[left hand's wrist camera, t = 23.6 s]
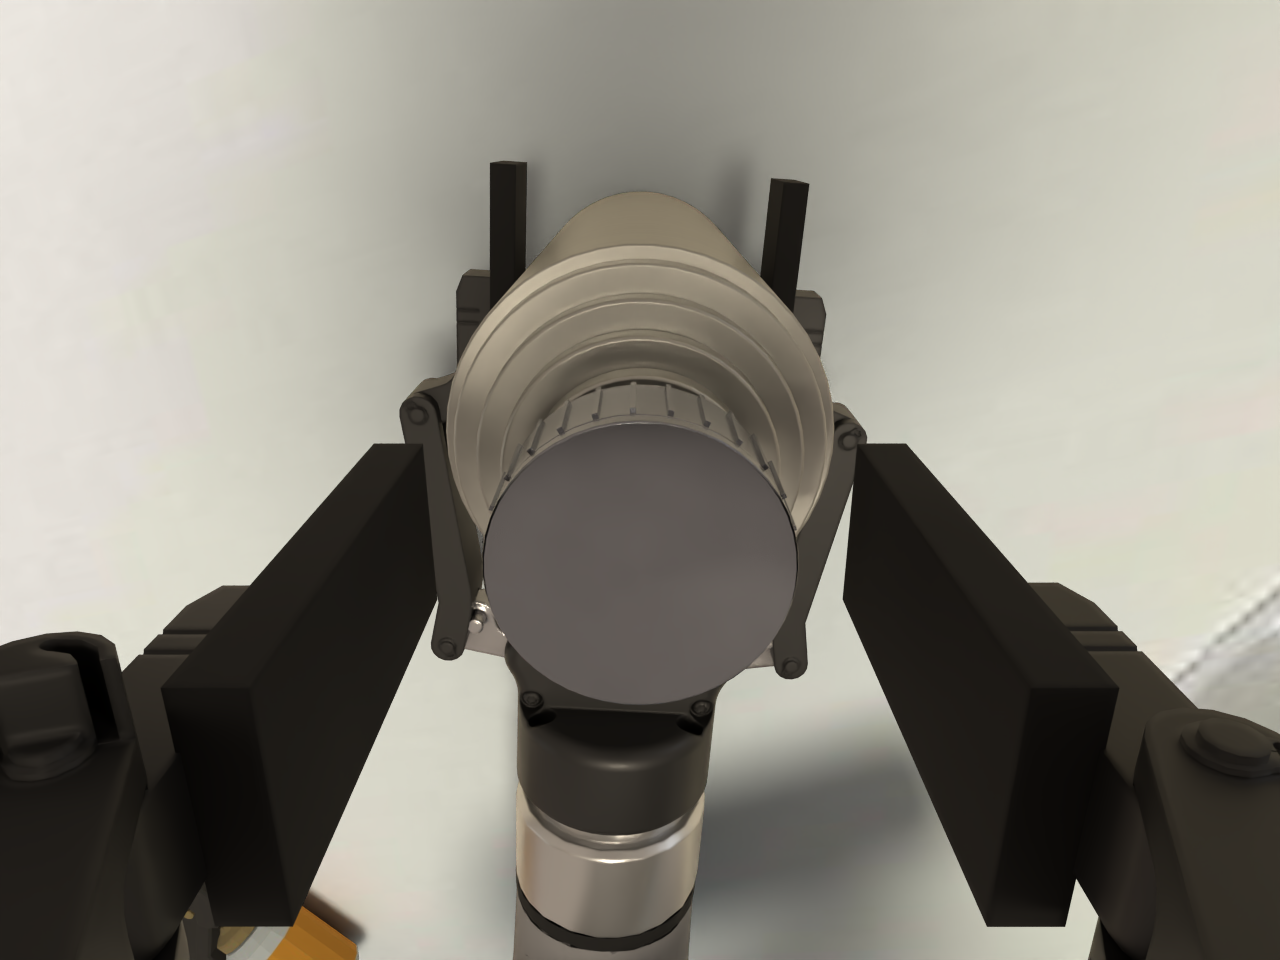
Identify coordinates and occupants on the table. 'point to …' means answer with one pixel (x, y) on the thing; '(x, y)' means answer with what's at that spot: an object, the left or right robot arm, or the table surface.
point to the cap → (640, 546)
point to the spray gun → (263, 938)
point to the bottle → (640, 345)
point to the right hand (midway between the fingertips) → (649, 172)
